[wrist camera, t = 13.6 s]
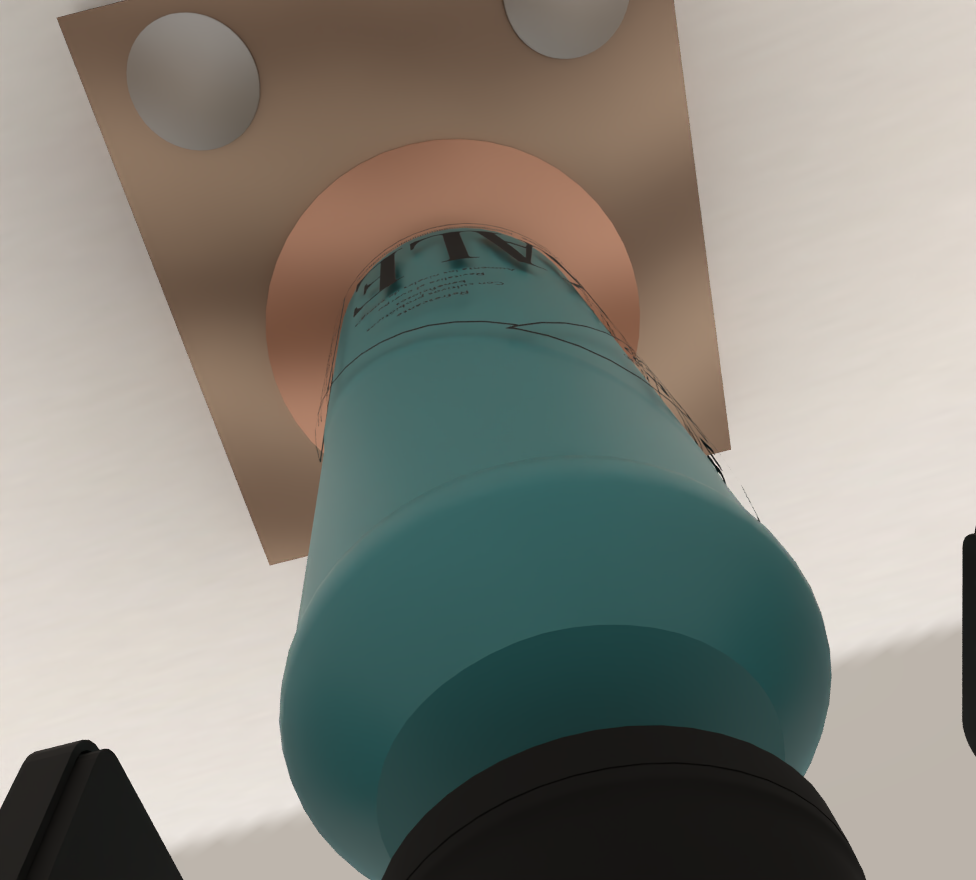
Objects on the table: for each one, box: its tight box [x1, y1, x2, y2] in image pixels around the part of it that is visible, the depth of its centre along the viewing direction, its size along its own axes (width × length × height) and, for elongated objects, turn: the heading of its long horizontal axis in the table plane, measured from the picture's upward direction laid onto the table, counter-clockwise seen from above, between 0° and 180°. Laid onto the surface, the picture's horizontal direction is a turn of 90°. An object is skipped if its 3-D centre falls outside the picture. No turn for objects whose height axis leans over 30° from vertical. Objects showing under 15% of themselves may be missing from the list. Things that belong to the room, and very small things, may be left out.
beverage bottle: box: [279, 223, 866, 880], centre depth 15 cm, size 6×7×20 cm
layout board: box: [57, 0, 731, 565], centre depth 24 cm, size 15×14×2 cm
